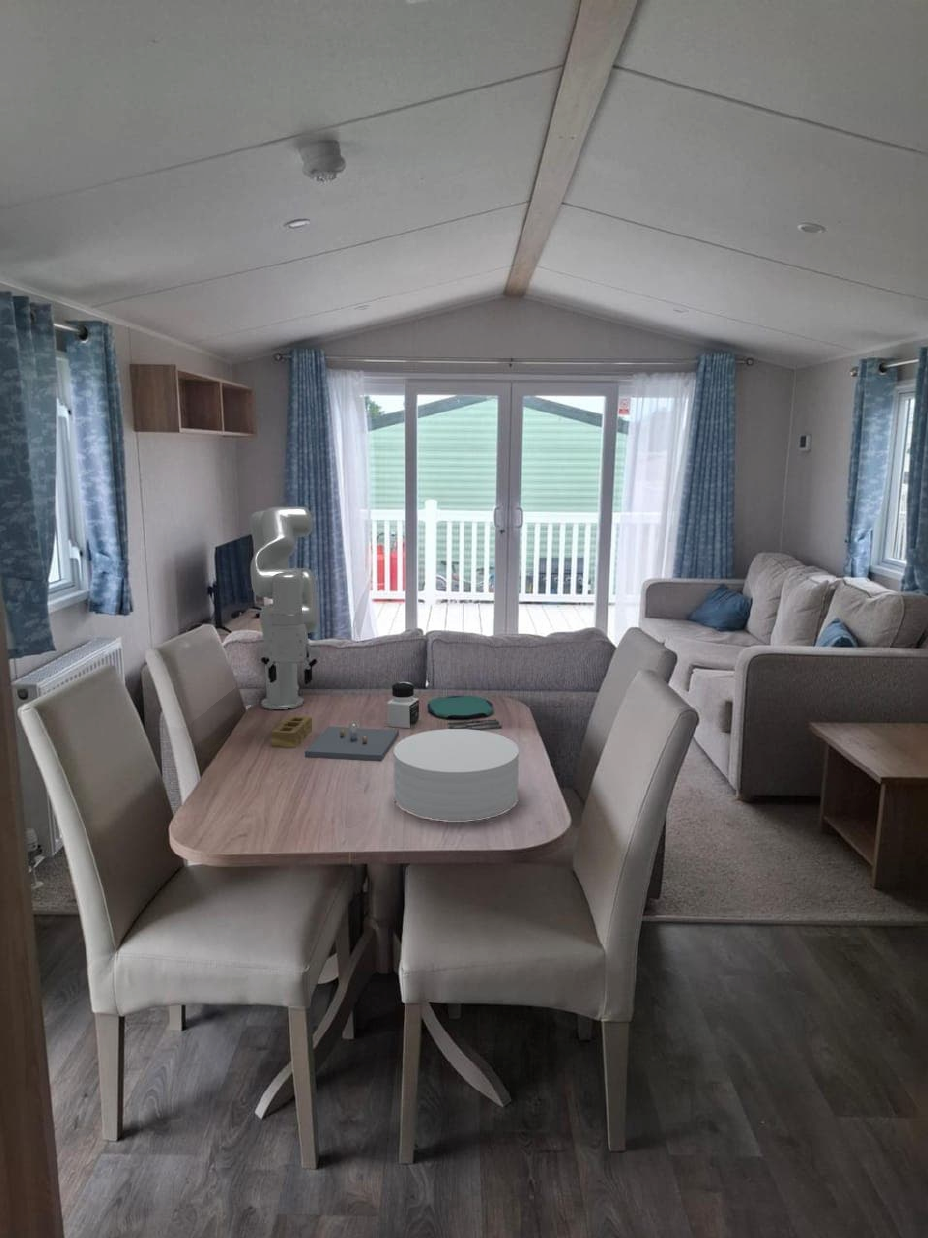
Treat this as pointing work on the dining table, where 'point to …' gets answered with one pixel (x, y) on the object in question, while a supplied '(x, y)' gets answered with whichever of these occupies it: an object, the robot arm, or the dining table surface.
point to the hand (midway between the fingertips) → (290, 682)
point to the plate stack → (456, 774)
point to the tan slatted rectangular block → (291, 731)
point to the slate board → (352, 744)
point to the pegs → (353, 733)
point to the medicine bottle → (402, 706)
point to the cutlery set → (463, 710)
